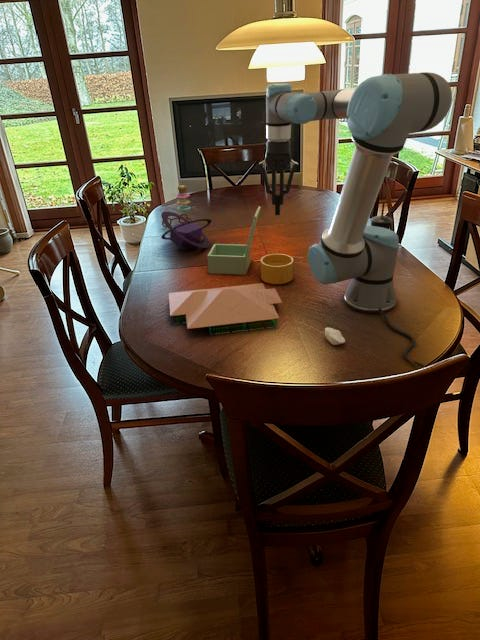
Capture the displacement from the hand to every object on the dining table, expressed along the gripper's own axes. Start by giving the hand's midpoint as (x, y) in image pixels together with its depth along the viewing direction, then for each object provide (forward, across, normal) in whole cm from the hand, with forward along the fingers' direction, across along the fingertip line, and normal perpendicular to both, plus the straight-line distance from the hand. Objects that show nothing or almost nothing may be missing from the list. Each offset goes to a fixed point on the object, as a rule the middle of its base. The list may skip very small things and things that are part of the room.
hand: (277, 213), depth 150 cm
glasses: (+21, +47, -40) cm, 65 cm away
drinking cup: (+21, -37, -17) cm, 45 cm away
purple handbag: (+21, +38, -18) cm, 47 cm away
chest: (+20, +17, 0) cm, 27 cm away
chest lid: (+6, +9, 0) cm, 11 cm away
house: (+21, +12, +34) cm, 42 cm away
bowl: (+20, -1, +8) cm, 22 cm away
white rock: (+20, -20, +46) cm, 54 cm away
